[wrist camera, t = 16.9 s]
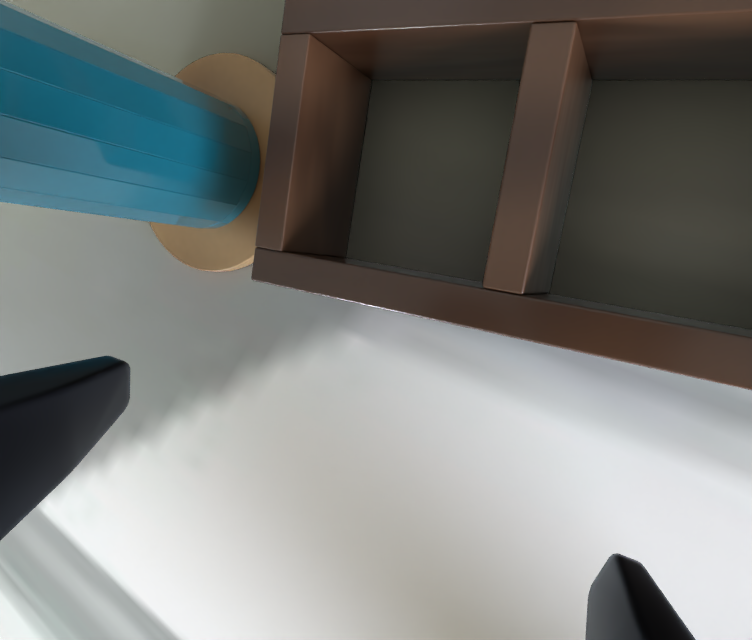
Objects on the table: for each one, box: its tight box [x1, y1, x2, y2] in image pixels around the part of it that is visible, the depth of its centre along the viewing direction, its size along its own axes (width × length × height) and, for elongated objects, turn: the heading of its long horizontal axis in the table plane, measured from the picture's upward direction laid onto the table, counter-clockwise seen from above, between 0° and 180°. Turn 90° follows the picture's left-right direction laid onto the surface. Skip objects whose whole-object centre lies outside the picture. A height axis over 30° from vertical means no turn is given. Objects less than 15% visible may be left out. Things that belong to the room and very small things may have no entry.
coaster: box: [149, 53, 276, 272], centre depth 22 cm, size 9×9×1 cm
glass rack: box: [251, 0, 752, 390], centre depth 14 cm, size 16×16×4 cm
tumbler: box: [0, 0, 260, 229], centre depth 16 cm, size 5×5×13 cm
